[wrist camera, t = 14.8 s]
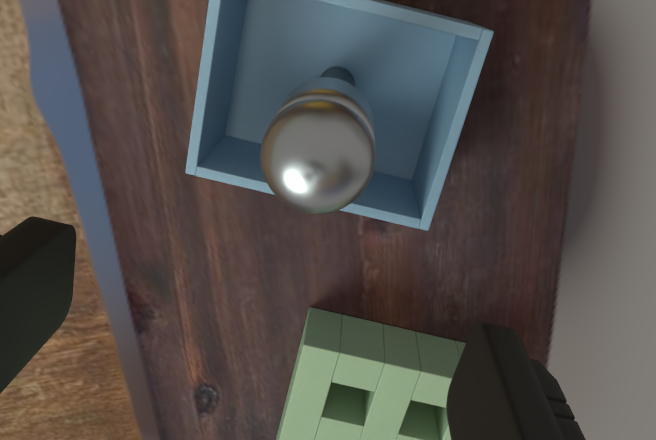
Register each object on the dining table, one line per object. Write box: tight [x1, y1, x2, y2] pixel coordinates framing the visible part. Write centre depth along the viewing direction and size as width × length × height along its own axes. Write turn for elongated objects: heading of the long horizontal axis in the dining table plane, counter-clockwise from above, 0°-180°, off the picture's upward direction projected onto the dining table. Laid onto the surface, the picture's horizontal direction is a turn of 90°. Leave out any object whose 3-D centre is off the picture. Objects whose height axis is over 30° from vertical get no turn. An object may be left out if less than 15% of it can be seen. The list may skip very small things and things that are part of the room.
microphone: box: [260, 67, 376, 214], centre depth 28 cm, size 4×4×18 cm
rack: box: [276, 307, 466, 440], centre depth 45 cm, size 14×14×5 cm
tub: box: [186, 0, 494, 231], centre depth 34 cm, size 14×11×8 cm
